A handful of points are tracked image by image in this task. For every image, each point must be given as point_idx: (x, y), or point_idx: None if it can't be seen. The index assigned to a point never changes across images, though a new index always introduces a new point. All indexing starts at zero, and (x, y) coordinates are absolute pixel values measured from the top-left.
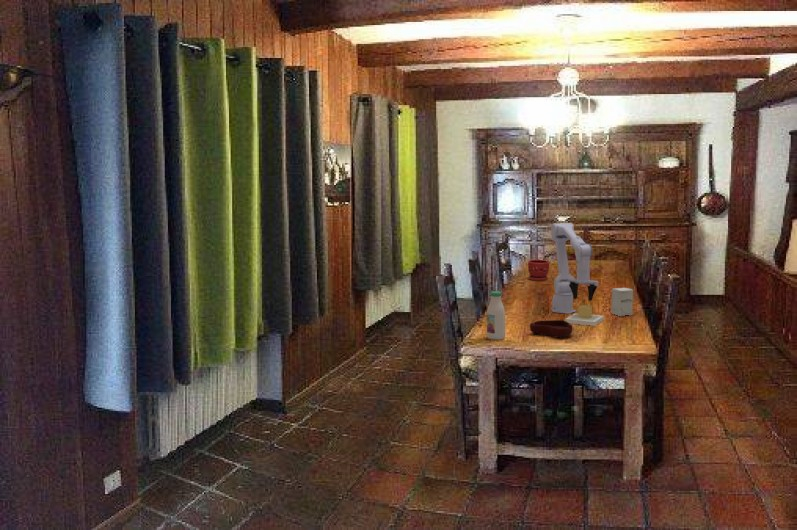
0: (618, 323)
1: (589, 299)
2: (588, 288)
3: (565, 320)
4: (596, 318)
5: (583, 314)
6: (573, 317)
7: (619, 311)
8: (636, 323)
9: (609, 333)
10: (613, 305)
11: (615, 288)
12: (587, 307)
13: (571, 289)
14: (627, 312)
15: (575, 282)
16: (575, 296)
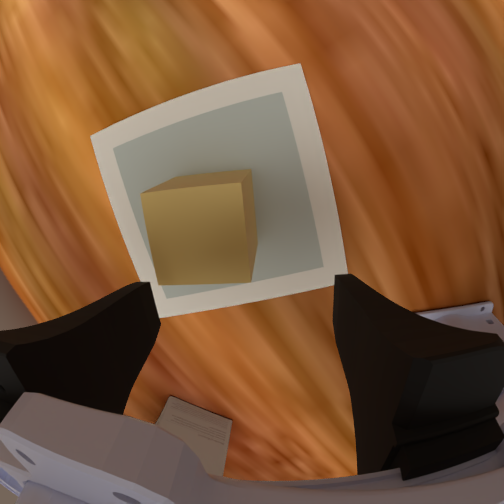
0: (77, 278)
1: (131, 285)
2: (29, 338)
3: (295, 66)
4: (138, 227)
5: (197, 176)
6: (276, 142)
7: (165, 413)
8: (48, 318)
9: (6, 78)
10: (209, 447)
11: None
12: (140, 196)
13: (421, 318)
14: (155, 424)
15: (394, 485)
16: (339, 300)
